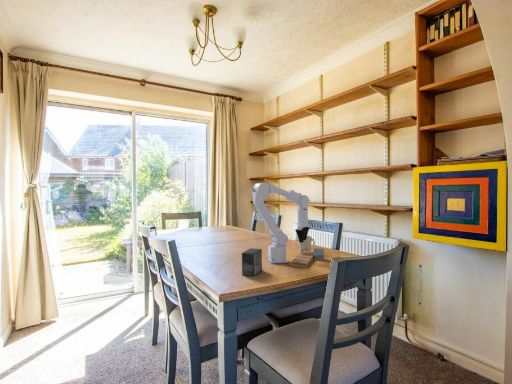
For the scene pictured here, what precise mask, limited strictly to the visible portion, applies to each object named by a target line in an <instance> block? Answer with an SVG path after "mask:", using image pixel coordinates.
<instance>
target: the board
mask: <svg viewBox="0 0 512 384" xmlns="http://www.w3.org/2000/svg"><path fill="white" fill-rule="evenodd" d="M313 261H314V255H311V254H301V253H300V252H299V254H298V255H297V256H296V257H295V258H294V259H293V260H292V261H290V267H293V268H294V267H295V268H303V269H305V268H308V267H309V265H310V264H311V263H312V262H313Z"/></svg>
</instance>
